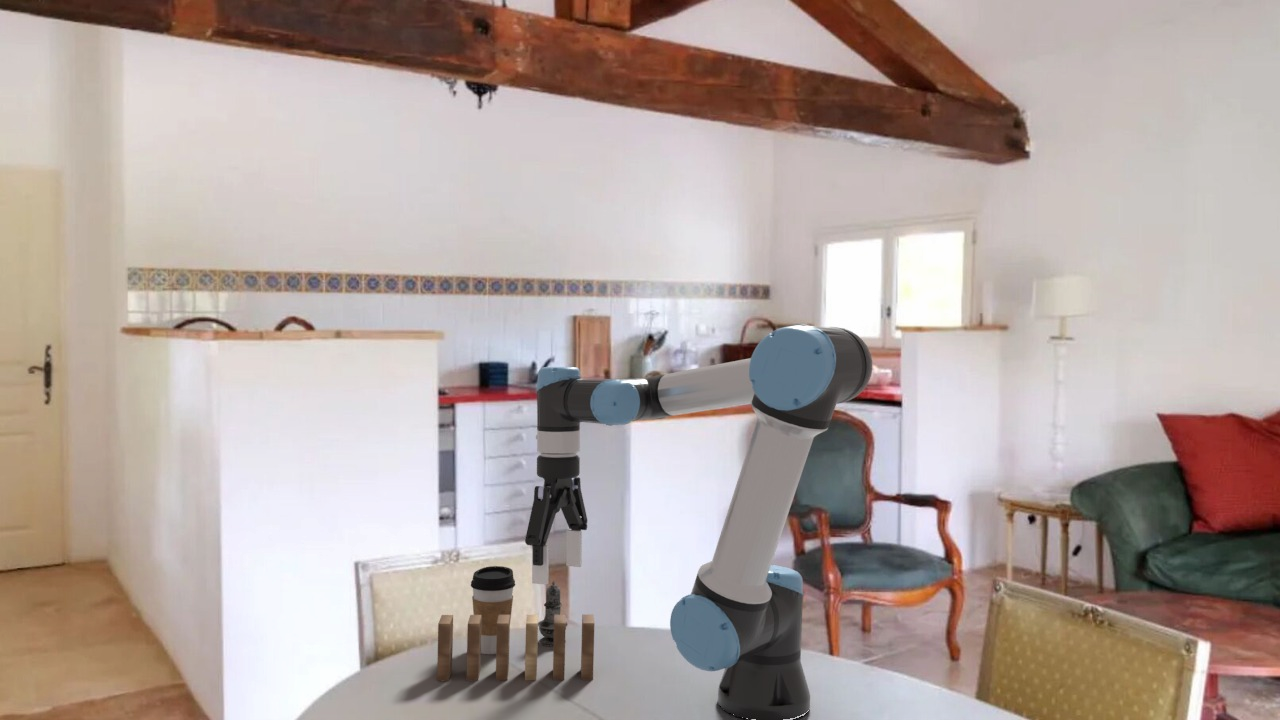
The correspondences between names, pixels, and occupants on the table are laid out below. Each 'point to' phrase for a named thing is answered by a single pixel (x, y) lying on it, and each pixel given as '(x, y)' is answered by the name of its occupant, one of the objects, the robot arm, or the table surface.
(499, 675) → the domino
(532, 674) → the oak domino
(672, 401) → the robot arm
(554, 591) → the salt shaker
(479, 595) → the coffee cup
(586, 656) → the domino
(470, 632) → the domino
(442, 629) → the domino
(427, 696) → the table surface
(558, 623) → the domino
